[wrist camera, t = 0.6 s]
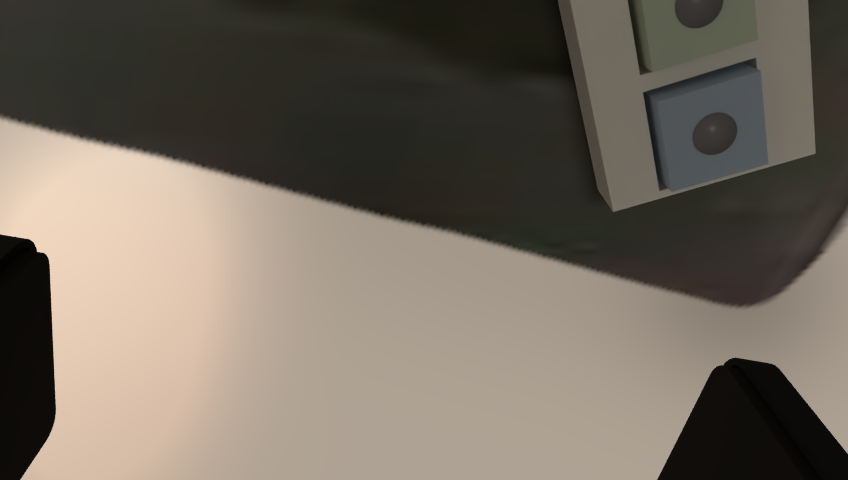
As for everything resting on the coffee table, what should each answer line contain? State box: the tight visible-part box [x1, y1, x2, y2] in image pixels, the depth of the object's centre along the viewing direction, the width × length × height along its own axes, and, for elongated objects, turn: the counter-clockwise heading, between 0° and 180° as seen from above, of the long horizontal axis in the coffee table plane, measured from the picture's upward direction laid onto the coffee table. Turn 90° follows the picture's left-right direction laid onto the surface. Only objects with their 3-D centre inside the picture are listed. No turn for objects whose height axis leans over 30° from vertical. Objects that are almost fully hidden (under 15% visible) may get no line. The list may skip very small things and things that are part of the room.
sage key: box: [628, 0, 758, 72], centre depth 29 cm, size 5×5×2 cm
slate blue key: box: [643, 62, 768, 192], centre depth 32 cm, size 5×5×2 cm
